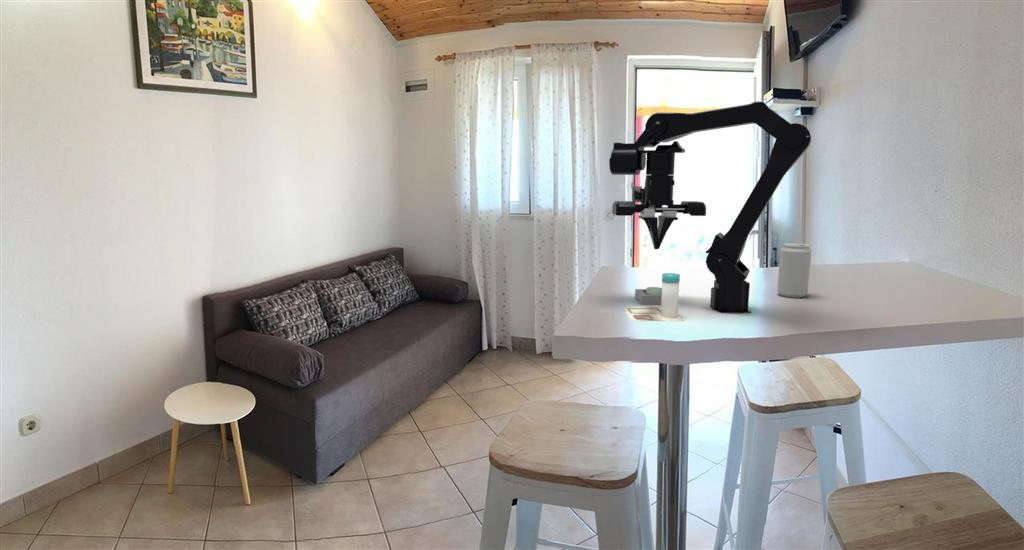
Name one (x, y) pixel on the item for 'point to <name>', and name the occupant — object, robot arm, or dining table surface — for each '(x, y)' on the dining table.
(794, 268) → the beverage can
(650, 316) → the drawing board
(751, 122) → the robot arm
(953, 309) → the dining table surface
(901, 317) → the dining table surface
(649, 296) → the button housing
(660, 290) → the button
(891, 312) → the dining table surface
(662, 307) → the marker
